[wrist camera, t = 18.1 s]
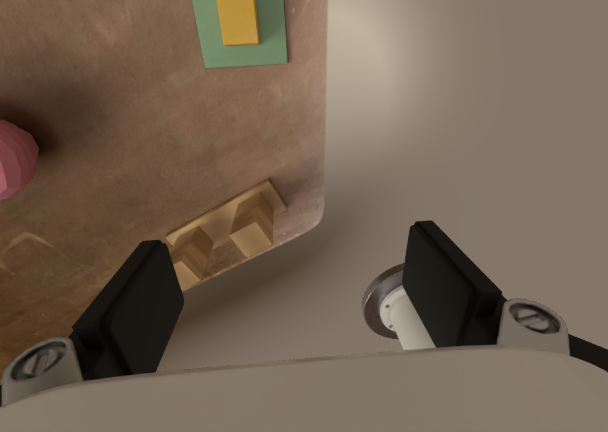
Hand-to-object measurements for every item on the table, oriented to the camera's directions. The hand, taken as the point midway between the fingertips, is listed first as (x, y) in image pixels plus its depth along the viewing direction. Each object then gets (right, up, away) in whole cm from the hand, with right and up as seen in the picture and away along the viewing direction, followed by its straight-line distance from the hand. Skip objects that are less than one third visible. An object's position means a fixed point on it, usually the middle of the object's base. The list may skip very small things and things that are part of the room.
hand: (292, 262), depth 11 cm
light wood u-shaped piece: (-10, +1, +29) cm, 31 cm away
